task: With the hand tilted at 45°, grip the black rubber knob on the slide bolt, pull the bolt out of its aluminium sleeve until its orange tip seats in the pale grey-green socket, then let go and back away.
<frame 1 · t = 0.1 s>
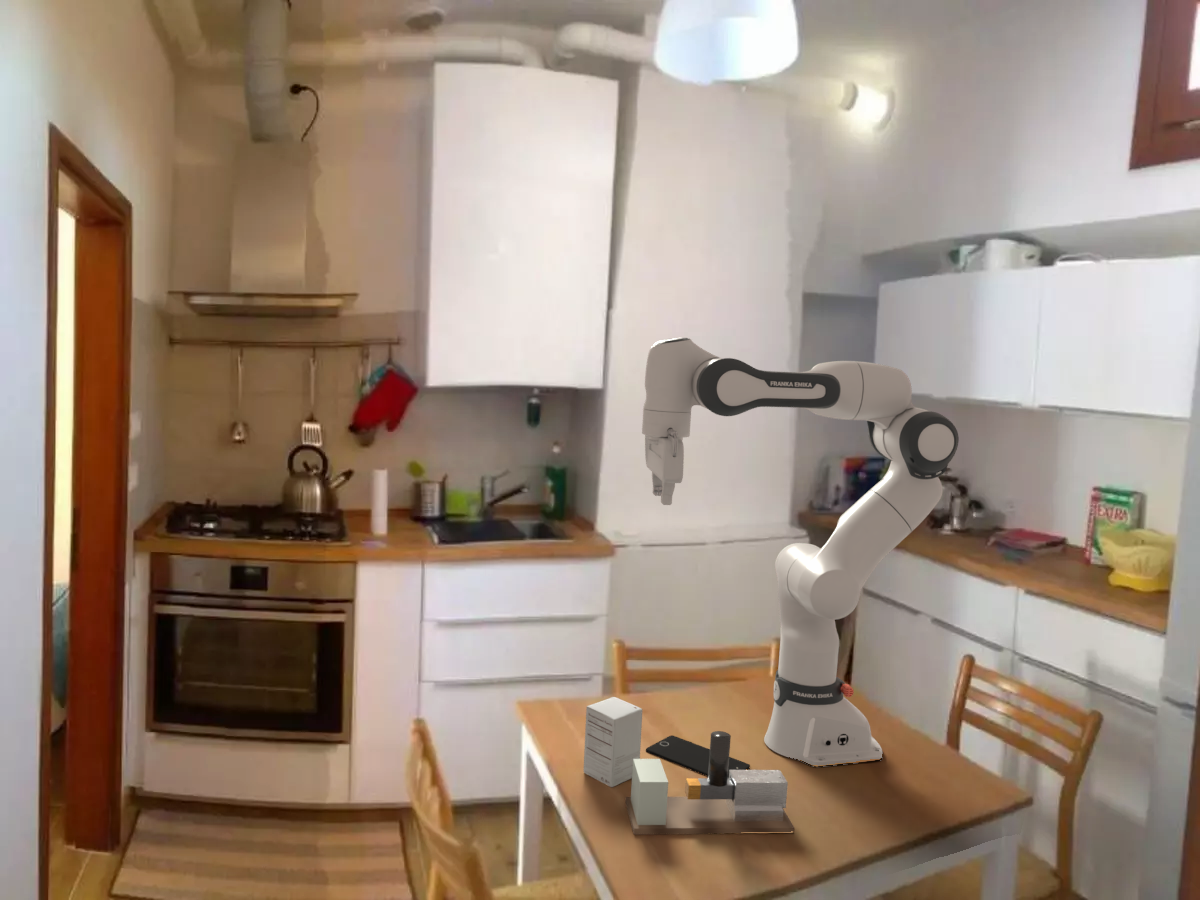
hand: (661, 499, 171), 48 cm above the table, tool pointing down, fingers open, 8 cm apart
supplement box: (610, 775, 165), on the table
slide bolt: (733, 765, 151), point 9 cm above the table, slide at 0.0 cm
socket: (648, 791, 150), on the base board, point 5 cm above the table
base board: (729, 817, 152), on the table
cell phone: (697, 762, 172), on the table
sleeve: (756, 793, 152), on the base board, point 4 cm above the table
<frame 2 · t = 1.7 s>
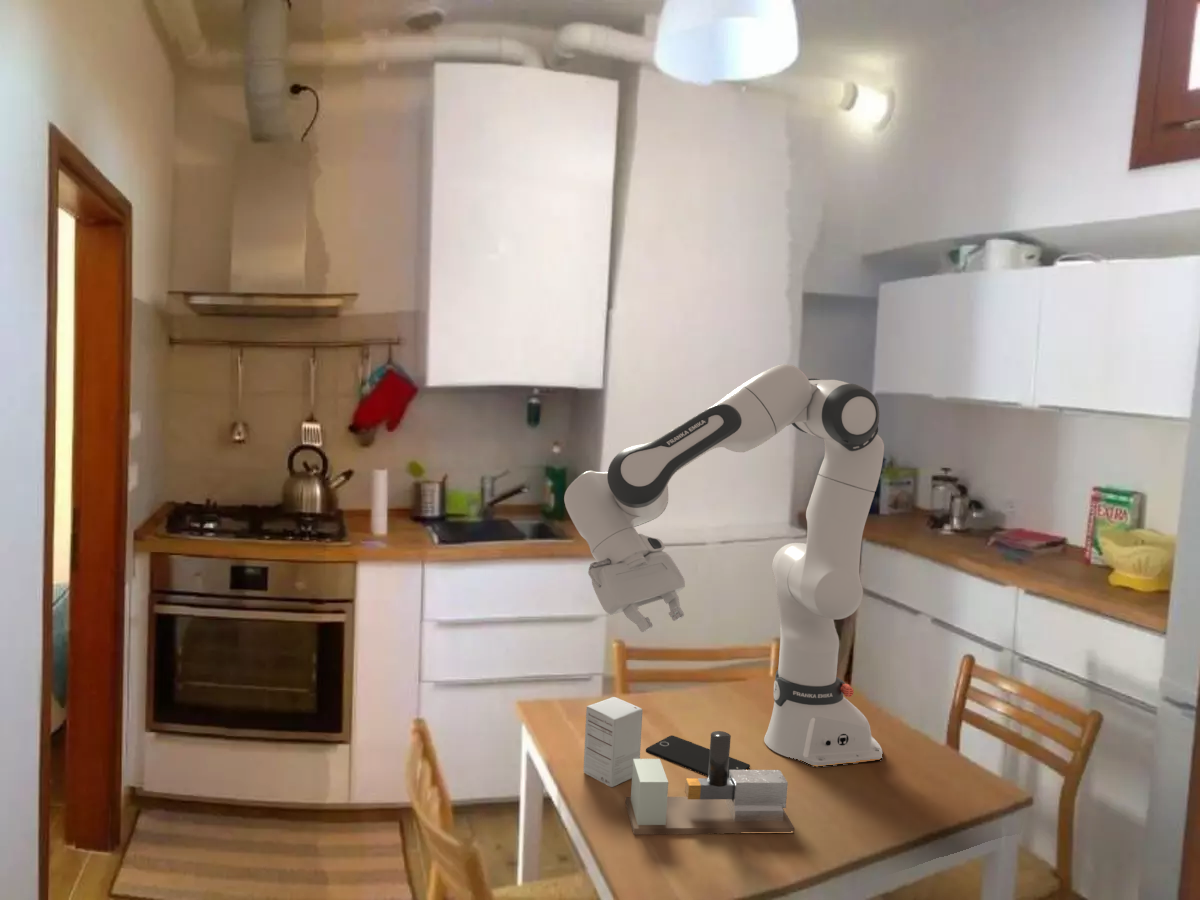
hand: (663, 623, 156), 30 cm above the table, tool tilted 45°, fingers open, 8 cm apart
nothing on the table moved.
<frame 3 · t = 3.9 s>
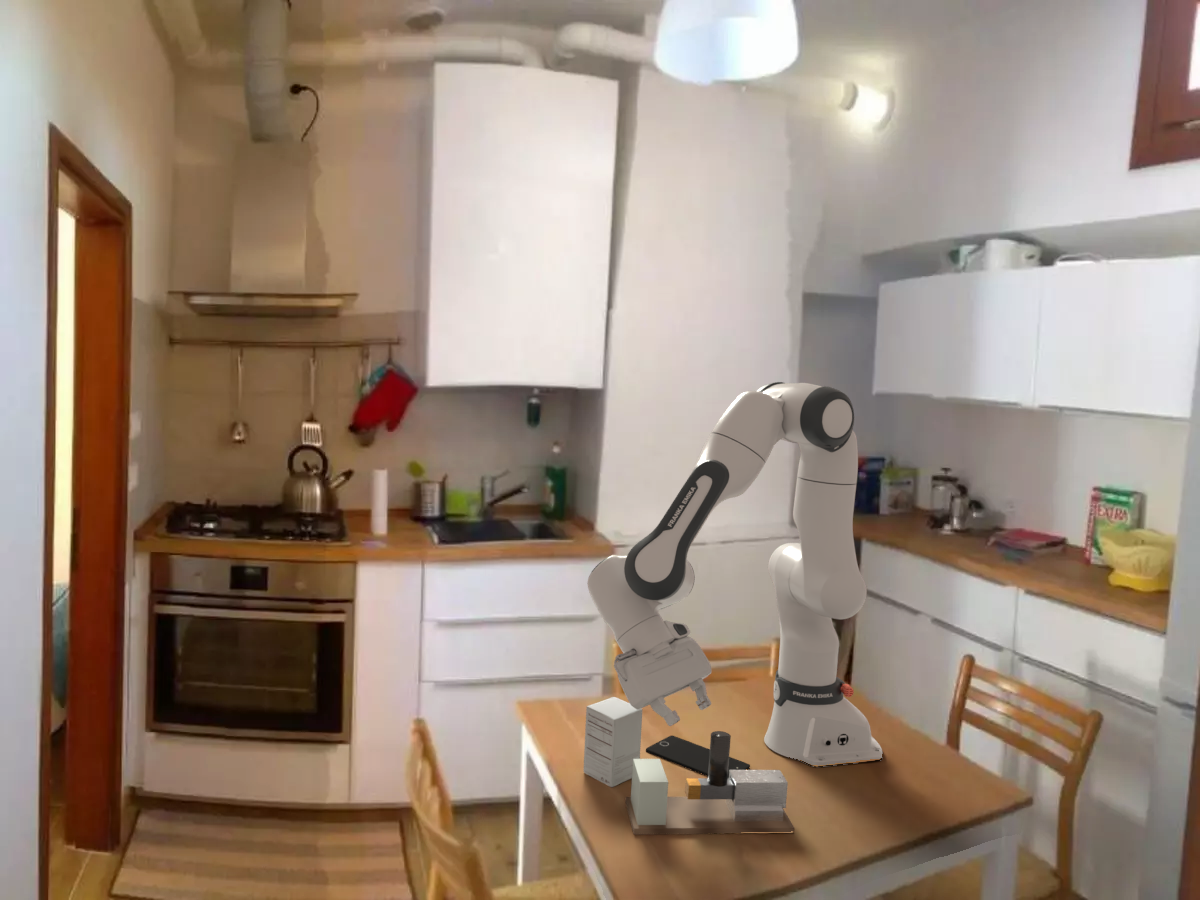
hand: (691, 715, 153), 16 cm above the table, tool tilted 45°, fingers open, 8 cm apart
nothing on the table moved.
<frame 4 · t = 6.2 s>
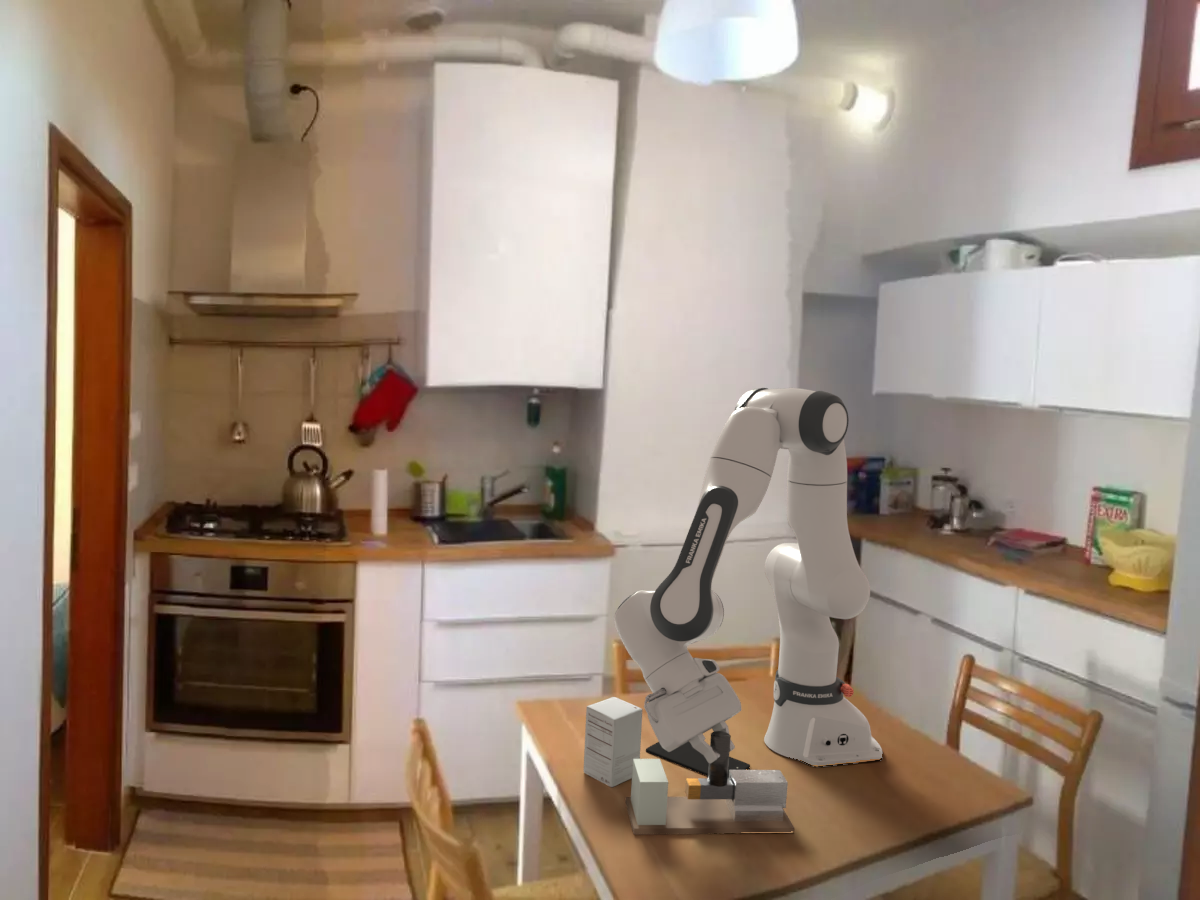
hand: (722, 755, 150), 11 cm above the table, tool tilted 45°, fingers closed on slide bolt, 3 cm apart
slide bolt: (733, 765, 151), point 9 cm above the table, slide at 0.0 cm, touching gripper
everything else where it was.
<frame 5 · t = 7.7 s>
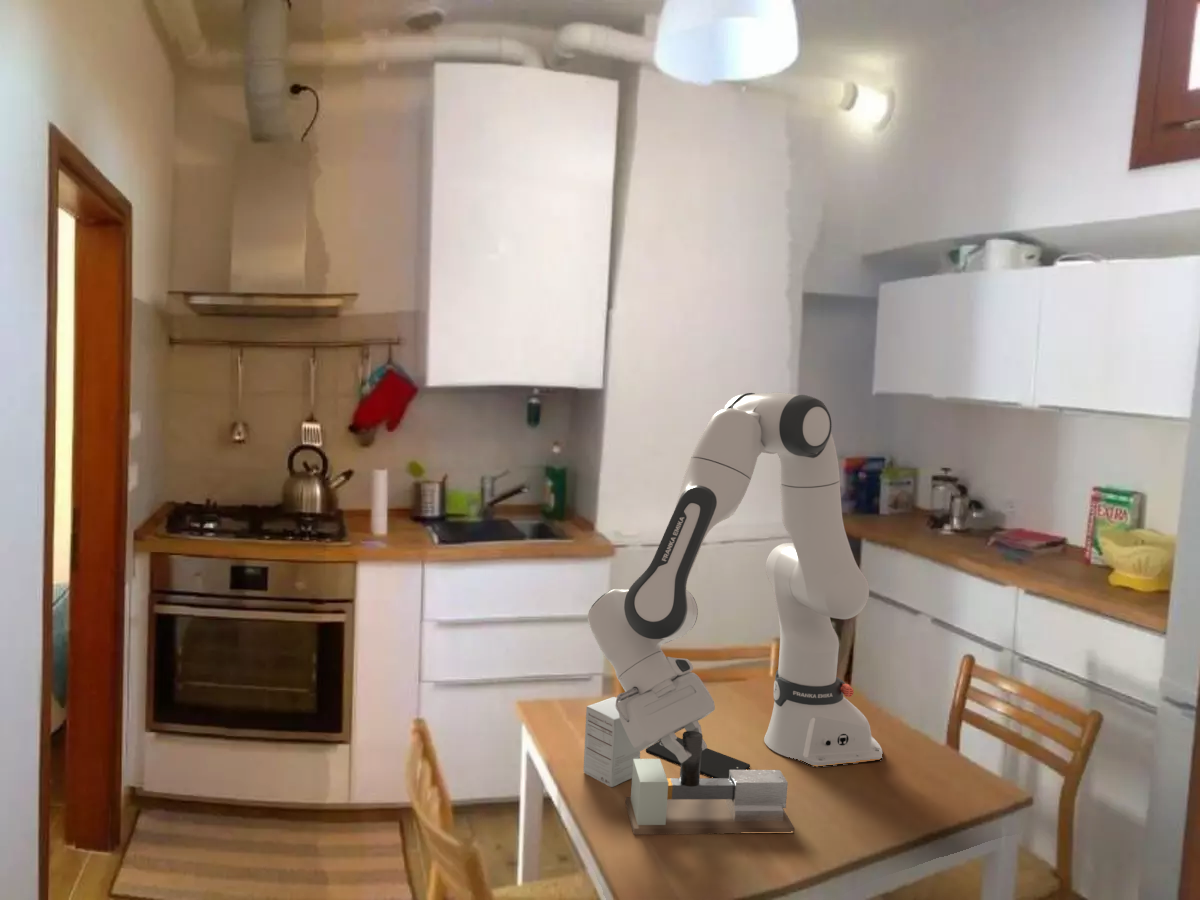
hand: (694, 755, 149), 11 cm above the table, tool tilted 45°, fingers closed on slide bolt, 3 cm apart
slide bolt: (705, 765, 150), point 9 cm above the table, slide at 4.7 cm, touching gripper
everything else where it was.
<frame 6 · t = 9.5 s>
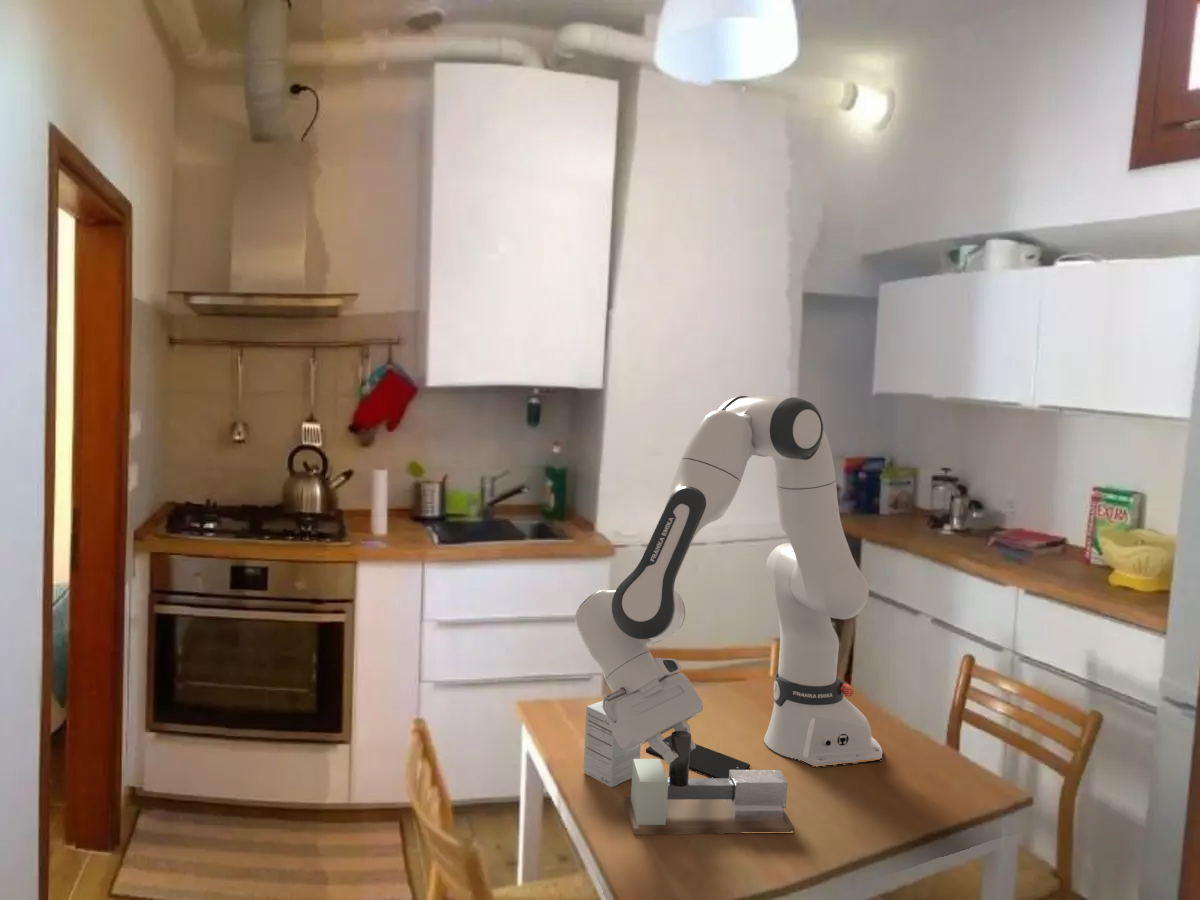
hand: (682, 755, 149), 11 cm above the table, tool tilted 45°, fingers open, 4 cm apart
slide bolt: (694, 765, 150), point 9 cm above the table, slide at 6.5 cm
everything else where it was.
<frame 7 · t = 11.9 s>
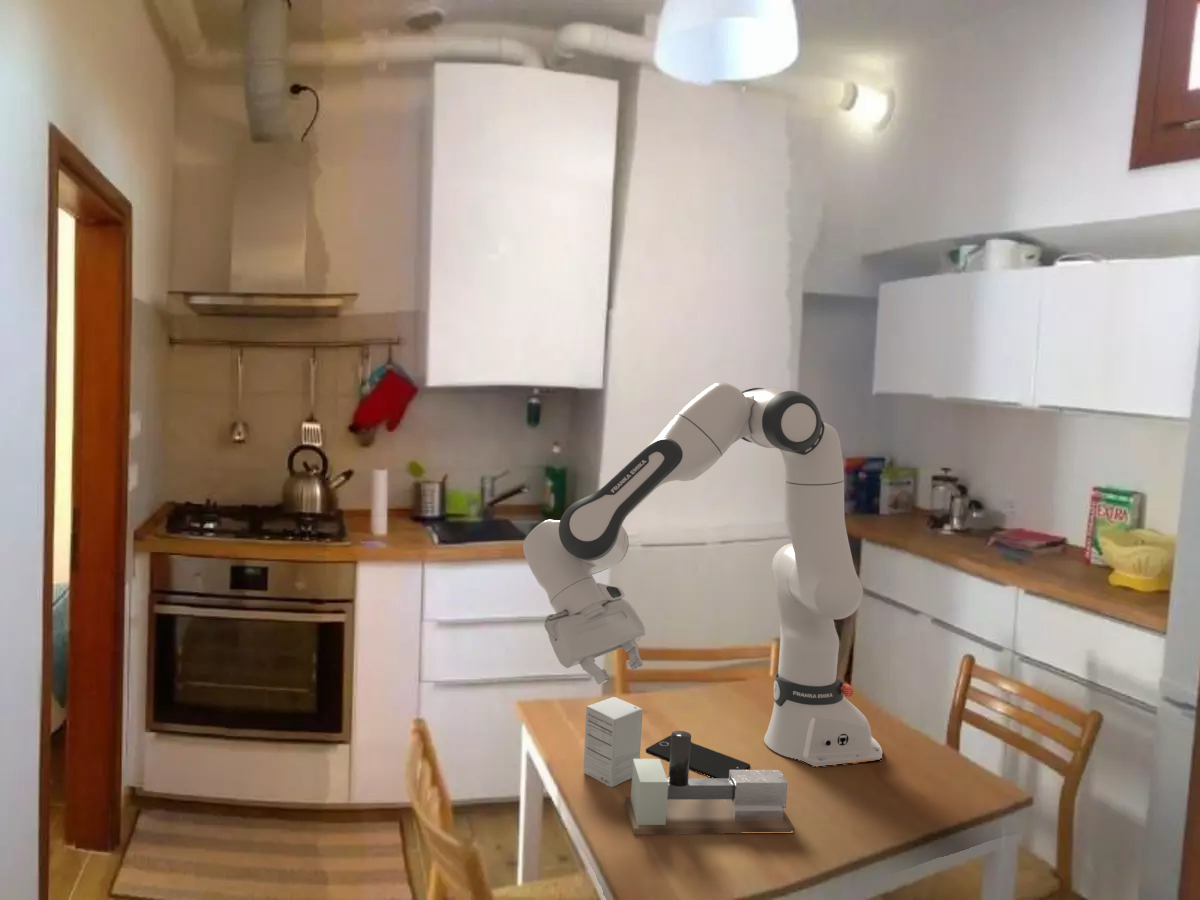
hand: (621, 674, 156), 21 cm above the table, tool tilted 45°, fingers open, 8 cm apart
nothing on the table moved.
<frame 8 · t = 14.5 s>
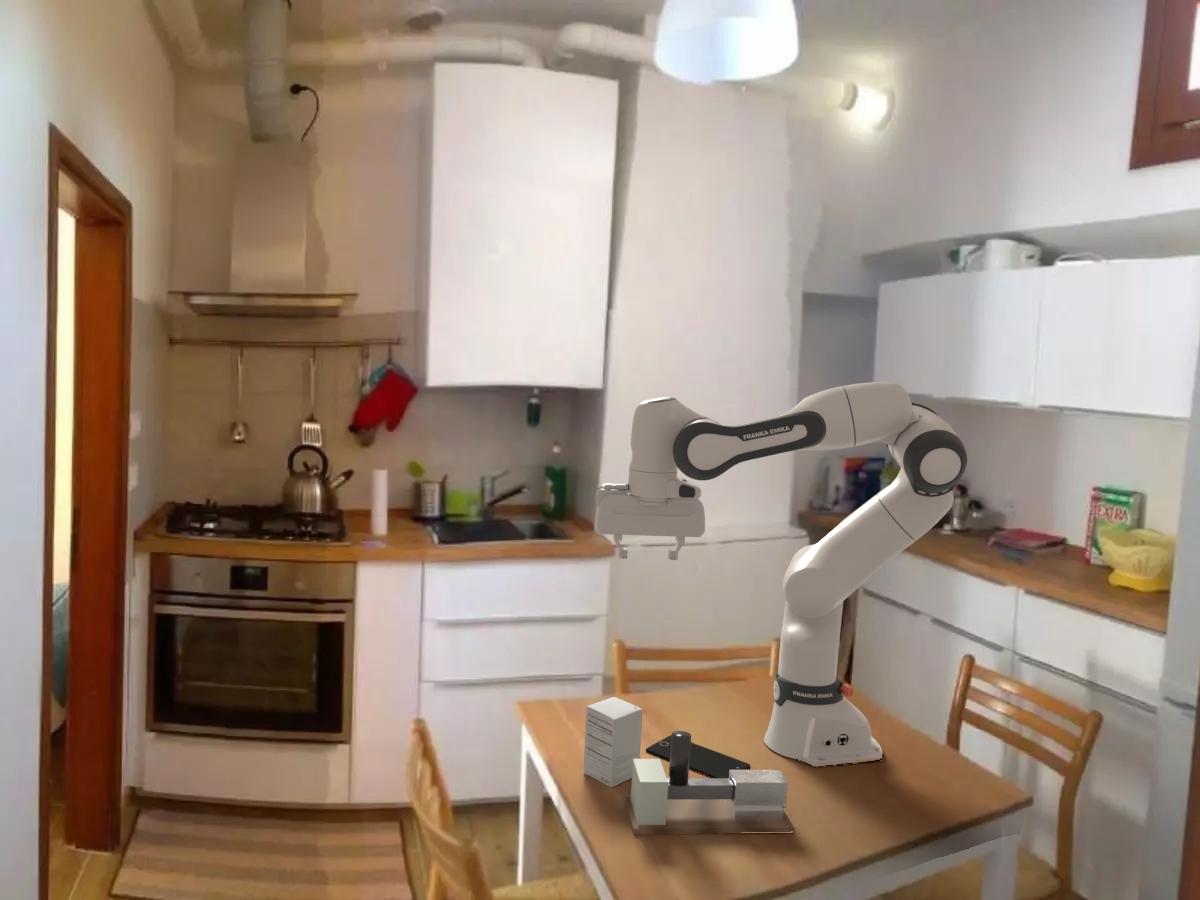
hand: (647, 558, 171), 37 cm above the table, tool pointing down, fingers open, 8 cm apart
nothing on the table moved.
at the end: slide bolt slide at 6.5 cm; the gripper is holding nothing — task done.
